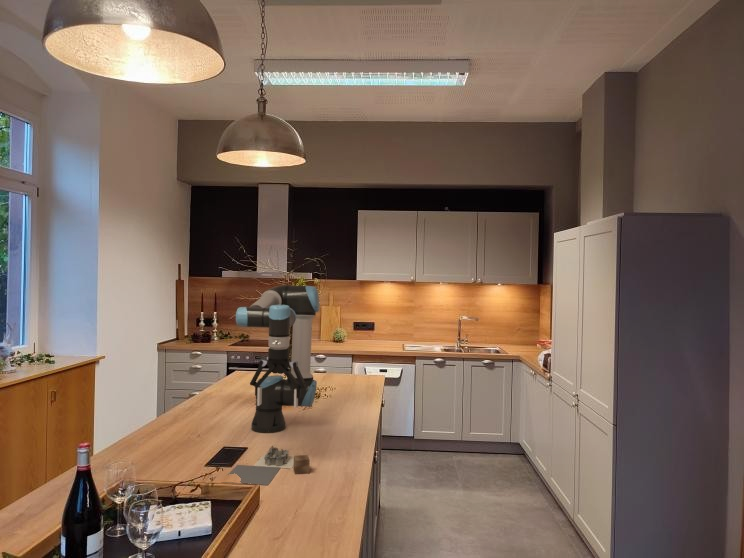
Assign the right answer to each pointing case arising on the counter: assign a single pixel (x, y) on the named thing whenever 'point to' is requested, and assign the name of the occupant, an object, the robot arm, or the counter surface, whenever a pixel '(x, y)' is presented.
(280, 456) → the egg carton
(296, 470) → the walnut block
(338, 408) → the counter surface
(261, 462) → the tile
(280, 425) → the robot arm
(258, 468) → the slate coaster
